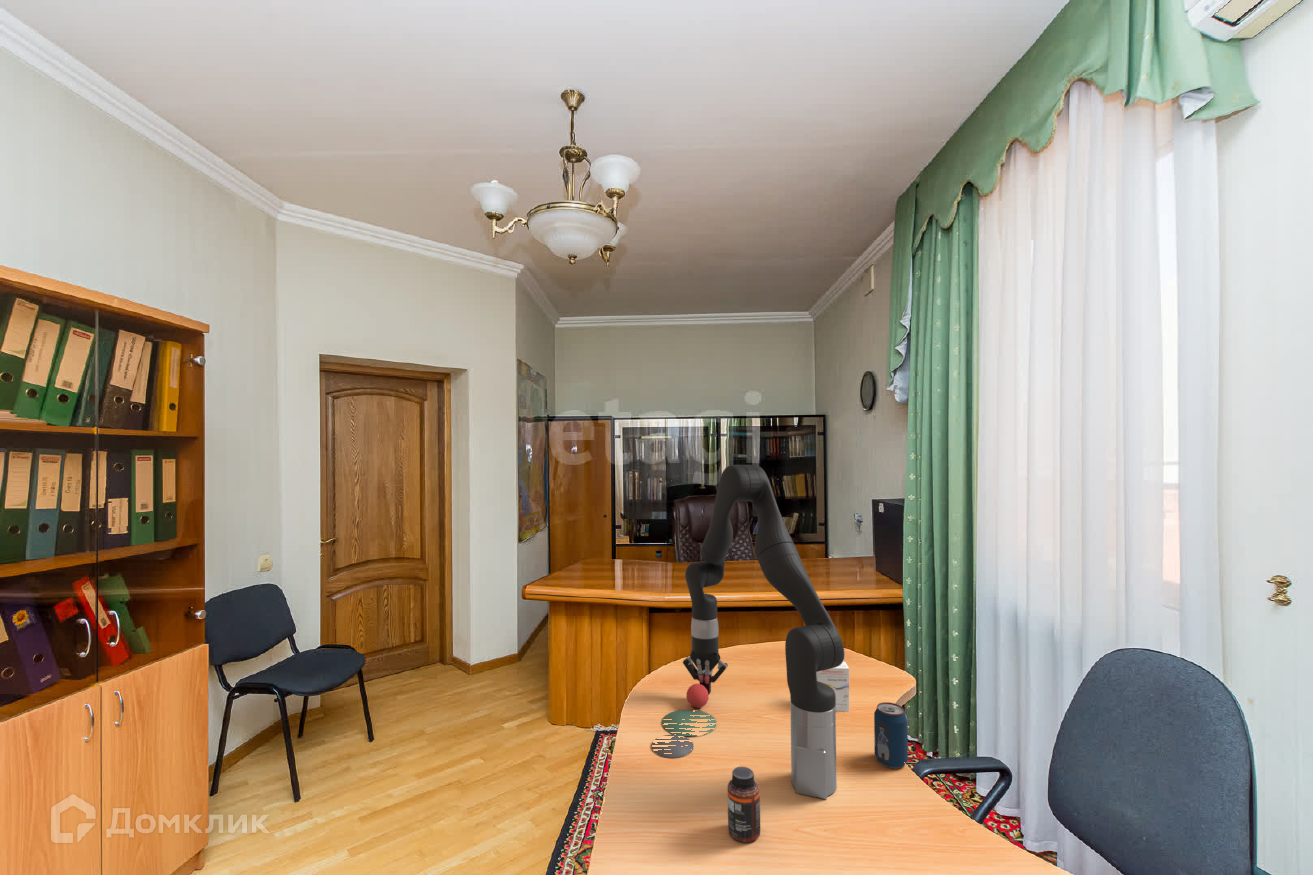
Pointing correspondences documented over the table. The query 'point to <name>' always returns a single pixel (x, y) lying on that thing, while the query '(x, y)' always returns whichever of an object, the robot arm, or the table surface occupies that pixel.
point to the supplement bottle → (743, 805)
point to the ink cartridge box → (837, 684)
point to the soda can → (890, 735)
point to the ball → (697, 695)
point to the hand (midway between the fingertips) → (705, 695)
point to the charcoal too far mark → (674, 747)
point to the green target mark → (686, 721)
